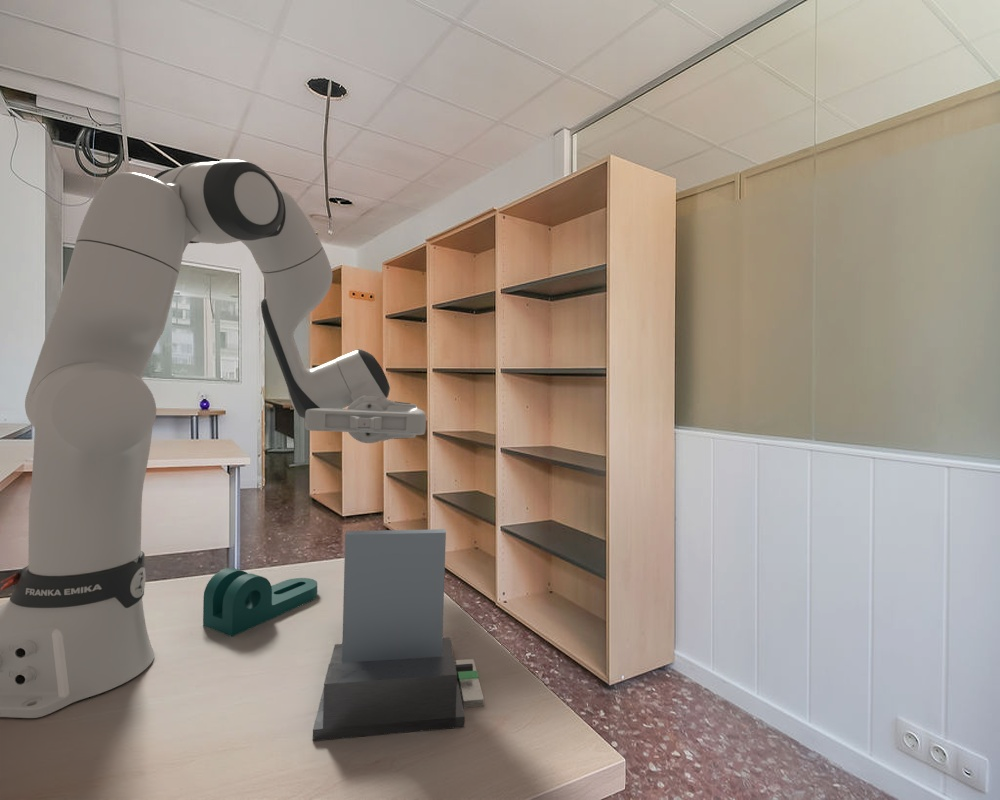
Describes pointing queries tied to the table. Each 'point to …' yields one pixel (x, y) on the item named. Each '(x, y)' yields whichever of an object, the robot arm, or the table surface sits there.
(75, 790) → the table surface
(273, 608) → the bracket
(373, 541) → the grey upright panel
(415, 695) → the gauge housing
